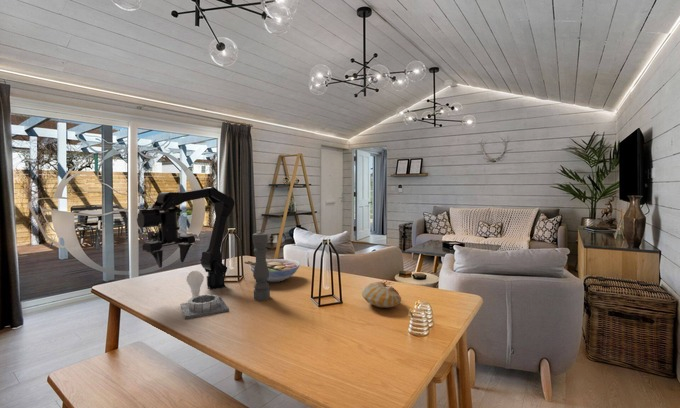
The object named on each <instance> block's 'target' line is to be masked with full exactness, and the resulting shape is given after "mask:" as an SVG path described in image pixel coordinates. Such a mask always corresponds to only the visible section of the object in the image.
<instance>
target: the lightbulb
mask: <svg viewBox="0 0 680 408" xmlns="http://www.w3.org/2000/svg"><path fill="white" fill-rule="evenodd" d="M204 279H205V277H204V274H203V273H202V272H201V271H199V270H192V271H190V272H189V273H188V275H187V276H186V282H187V285H188V286H189V288H190V291H191V292H190V293H191V298H193V297H196V296H200V295H201V294H200V292H201V288H202V287H201V286H202V285H203V282H204Z"/></svg>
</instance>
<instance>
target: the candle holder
mask: <svg viewBox="0 0 680 408" xmlns="http://www.w3.org/2000/svg"><path fill="white" fill-rule="evenodd" d="M268 237H269V235H268V233H267V232H255V233H253V234H252V243H253V246H254V249H253V253H254V254H255V262H256V263H255V262H254V263H255V268H254V273H253V272H252V276H253V279H254V281H255V284H254V285H253V288H254V289H253V300H254V301H257V302H263V301H267V300H270V298H271V288H270V284H269V283H268V281H267V279H268V277H269V270H268V266H267V262H266V260H267V254H266V253H267V252H268V248H267V245H268V242H269V238H268Z"/></svg>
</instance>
